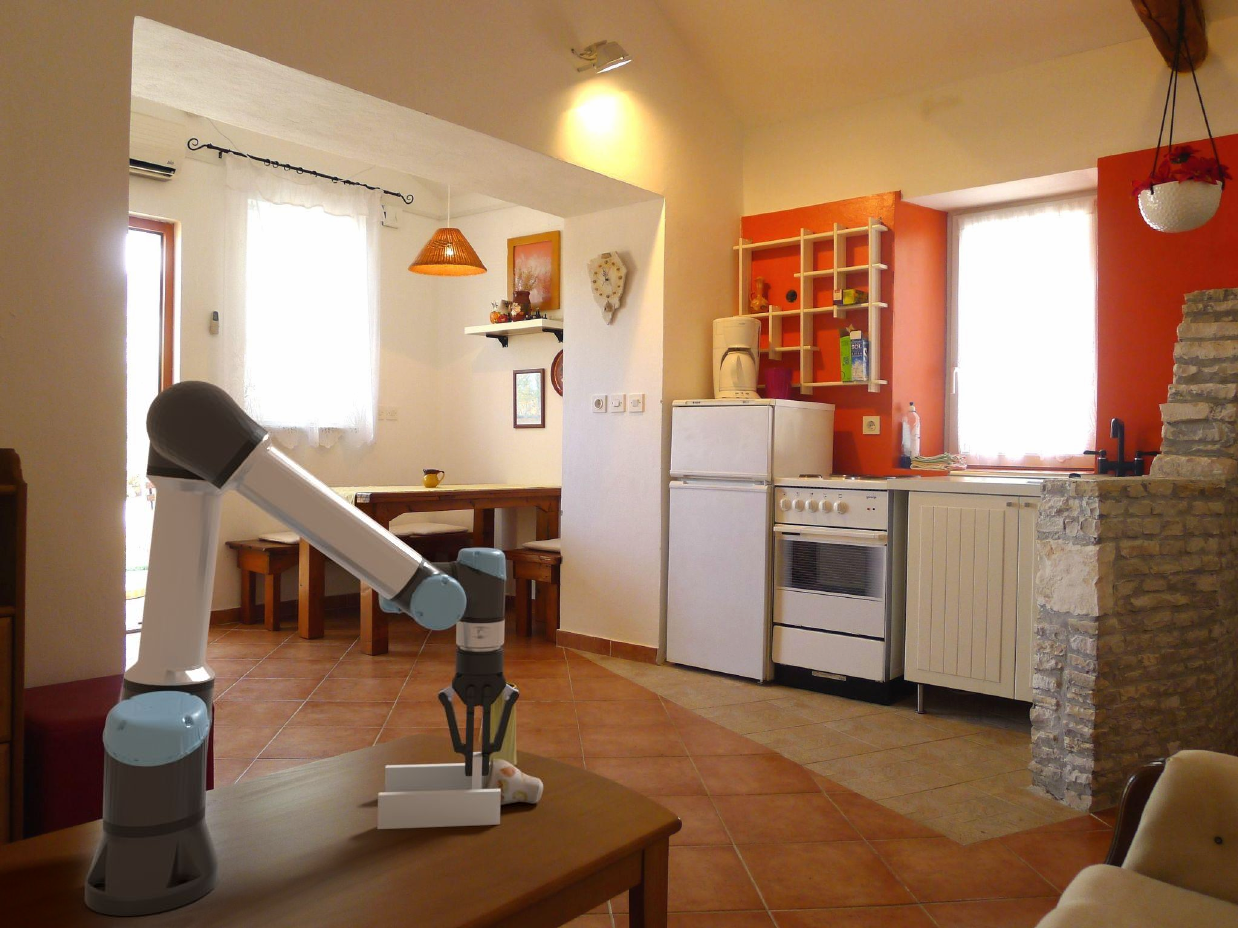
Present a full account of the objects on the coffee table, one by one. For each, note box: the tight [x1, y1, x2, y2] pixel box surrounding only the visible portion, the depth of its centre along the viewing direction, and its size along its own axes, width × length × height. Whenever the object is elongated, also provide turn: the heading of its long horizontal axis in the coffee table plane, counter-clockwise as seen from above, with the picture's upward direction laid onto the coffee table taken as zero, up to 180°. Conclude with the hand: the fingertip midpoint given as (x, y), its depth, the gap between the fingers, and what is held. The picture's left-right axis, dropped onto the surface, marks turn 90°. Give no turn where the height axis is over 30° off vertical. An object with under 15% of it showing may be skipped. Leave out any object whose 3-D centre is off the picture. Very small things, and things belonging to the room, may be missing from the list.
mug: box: [483, 759, 544, 806], centre depth 149 cm, size 8×10×10 cm
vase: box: [489, 681, 518, 767], centre depth 168 cm, size 6×6×14 cm
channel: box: [376, 762, 501, 830], centre depth 146 cm, size 18×14×5 cm
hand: (476, 795), depth 147 cm, fingers closed
